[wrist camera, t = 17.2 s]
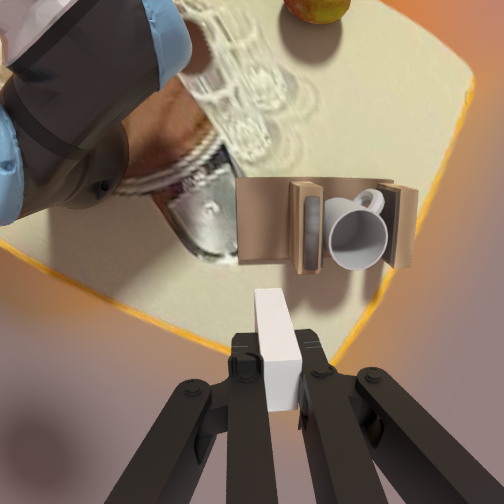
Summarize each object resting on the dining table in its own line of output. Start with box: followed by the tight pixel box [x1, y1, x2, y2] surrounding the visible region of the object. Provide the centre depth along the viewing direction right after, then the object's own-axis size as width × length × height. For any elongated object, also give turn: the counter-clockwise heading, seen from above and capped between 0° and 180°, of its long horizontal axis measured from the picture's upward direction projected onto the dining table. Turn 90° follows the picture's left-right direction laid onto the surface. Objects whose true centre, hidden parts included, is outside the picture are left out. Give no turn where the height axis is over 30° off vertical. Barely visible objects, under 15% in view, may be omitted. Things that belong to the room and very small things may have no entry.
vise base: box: [236, 177, 418, 269], centre depth 39 cm, size 22×11×8 cm, turn 91°
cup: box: [324, 189, 388, 271], centre depth 38 cm, size 7×10×9 cm
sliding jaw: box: [289, 182, 325, 274], centre depth 37 cm, size 3×10×9 cm, turn 1°
